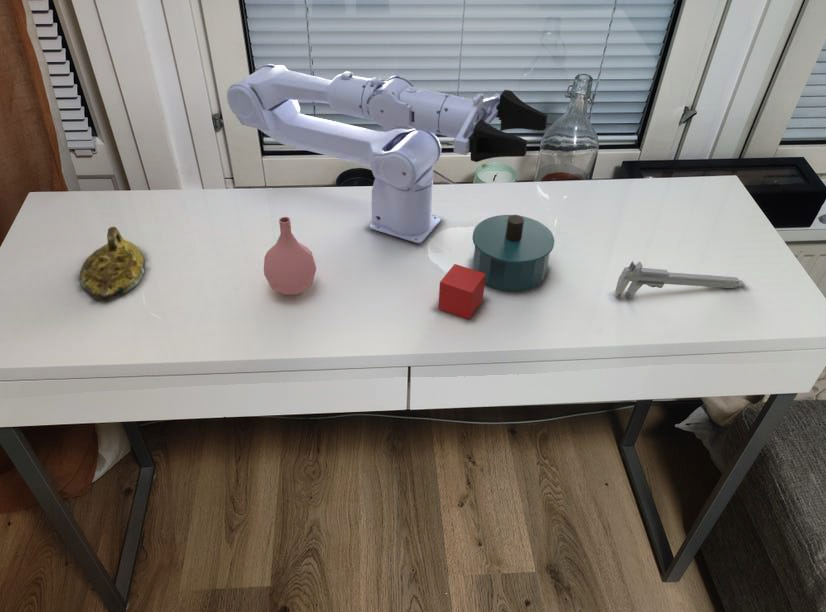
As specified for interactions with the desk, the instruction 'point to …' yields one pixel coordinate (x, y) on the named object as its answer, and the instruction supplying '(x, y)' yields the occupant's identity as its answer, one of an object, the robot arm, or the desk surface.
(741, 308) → the desk surface
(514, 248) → the lid
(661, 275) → the caliper
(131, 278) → the seal
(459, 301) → the red block
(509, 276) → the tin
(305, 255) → the pink vase
